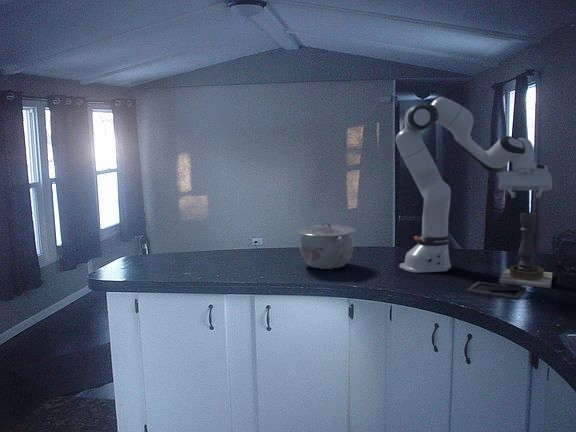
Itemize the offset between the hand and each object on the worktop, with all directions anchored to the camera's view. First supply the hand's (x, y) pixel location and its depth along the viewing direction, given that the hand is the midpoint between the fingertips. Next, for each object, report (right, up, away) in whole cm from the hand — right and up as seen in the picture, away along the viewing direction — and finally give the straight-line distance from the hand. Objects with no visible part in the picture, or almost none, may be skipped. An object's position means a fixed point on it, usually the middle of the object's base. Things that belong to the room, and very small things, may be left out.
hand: (525, 196), depth 216 cm
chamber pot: (-79, -31, +27) cm, 89 cm away
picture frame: (-19, -37, -18) cm, 45 cm away
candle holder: (-2, -32, -3) cm, 32 cm away
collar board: (-1, -33, -3) cm, 33 cm away
